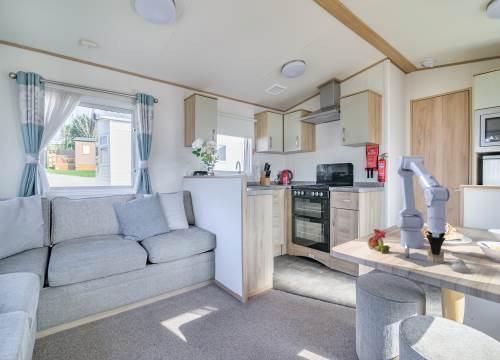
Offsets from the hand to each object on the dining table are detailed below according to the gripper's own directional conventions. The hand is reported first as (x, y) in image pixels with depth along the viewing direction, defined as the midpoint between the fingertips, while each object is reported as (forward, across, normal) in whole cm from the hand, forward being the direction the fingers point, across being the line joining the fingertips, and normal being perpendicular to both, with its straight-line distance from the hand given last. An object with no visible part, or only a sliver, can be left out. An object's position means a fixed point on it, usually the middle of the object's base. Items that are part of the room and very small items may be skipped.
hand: (435, 252), depth 95 cm
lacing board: (+4, +1, -5) cm, 7 cm away
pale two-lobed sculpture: (+5, +5, +7) cm, 10 cm away
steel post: (+3, +2, -9) cm, 10 cm away
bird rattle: (+5, -1, -21) cm, 21 cm away
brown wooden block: (+4, 0, 0) cm, 4 cm away
